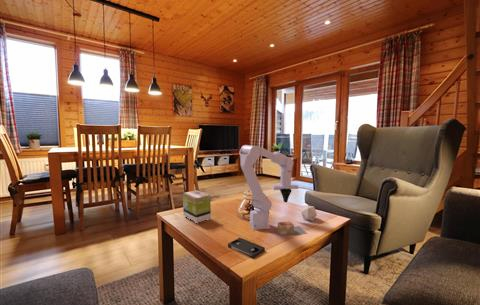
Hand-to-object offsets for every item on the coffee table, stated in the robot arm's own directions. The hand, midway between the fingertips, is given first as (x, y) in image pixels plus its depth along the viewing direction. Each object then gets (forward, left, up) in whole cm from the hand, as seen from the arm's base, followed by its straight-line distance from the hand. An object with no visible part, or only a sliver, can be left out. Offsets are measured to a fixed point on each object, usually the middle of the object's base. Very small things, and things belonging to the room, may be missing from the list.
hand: (285, 201), depth 130 cm
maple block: (-3, -16, -8) cm, 18 cm away
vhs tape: (-30, -27, -11) cm, 41 cm away
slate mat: (-4, -16, -10) cm, 19 cm away
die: (+13, -3, -11) cm, 17 cm away
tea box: (-49, +14, -11) cm, 52 cm away
